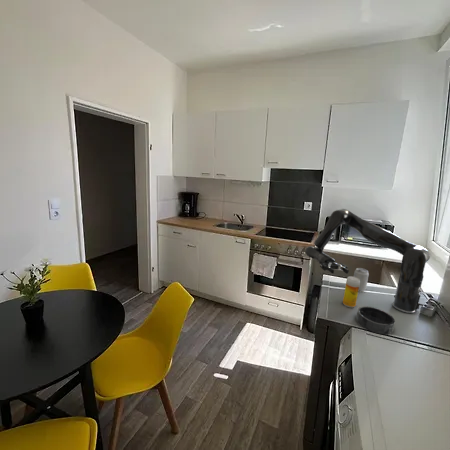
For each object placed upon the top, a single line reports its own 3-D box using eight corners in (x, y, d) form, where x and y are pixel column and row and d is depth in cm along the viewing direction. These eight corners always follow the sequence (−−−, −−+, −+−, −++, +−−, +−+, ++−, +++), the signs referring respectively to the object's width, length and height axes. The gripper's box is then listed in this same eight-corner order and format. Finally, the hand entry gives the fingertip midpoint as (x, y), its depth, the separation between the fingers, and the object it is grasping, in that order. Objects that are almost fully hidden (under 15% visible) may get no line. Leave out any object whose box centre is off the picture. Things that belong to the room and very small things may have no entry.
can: (349, 284, 151) (353, 266, 148) (362, 286, 150) (366, 268, 148) (354, 290, 144) (357, 271, 141) (367, 292, 143) (371, 273, 140)
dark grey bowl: (377, 314, 120) (378, 306, 119) (401, 333, 106) (403, 324, 105) (349, 314, 118) (351, 306, 117) (370, 334, 104) (372, 325, 103)
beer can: (354, 309, 123) (359, 282, 120) (341, 305, 127) (346, 278, 124) (356, 304, 128) (361, 278, 125) (343, 300, 132) (348, 274, 128)
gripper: (315, 255, 149) (329, 265, 134) (337, 255, 151) (353, 265, 135) (313, 266, 151) (327, 278, 135) (335, 266, 153) (351, 278, 137)
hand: (340, 272), depth 135 cm, fingers open, 8 cm apart
